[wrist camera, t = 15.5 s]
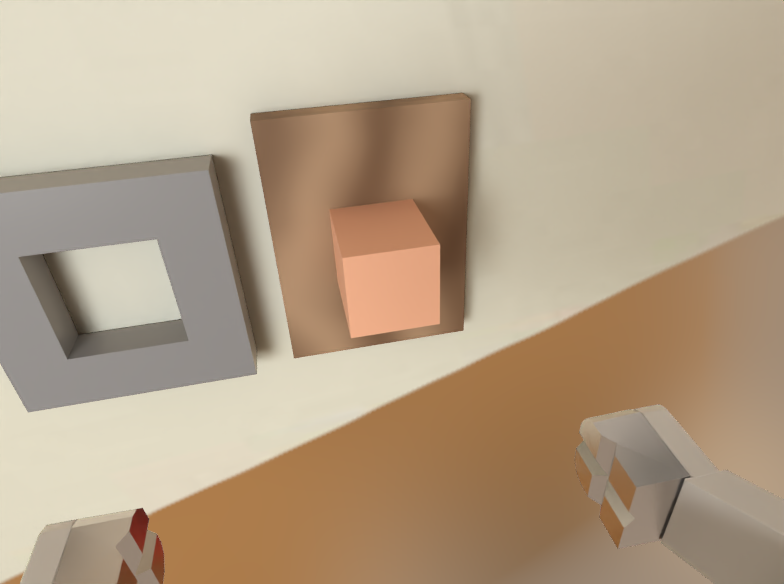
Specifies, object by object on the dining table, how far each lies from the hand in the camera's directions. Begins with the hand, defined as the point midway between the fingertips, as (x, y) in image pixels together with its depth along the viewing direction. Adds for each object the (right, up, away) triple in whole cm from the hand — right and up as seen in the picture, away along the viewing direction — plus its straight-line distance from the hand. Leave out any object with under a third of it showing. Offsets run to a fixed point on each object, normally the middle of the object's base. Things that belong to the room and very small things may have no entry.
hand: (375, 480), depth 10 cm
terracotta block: (-1, +7, +23) cm, 24 cm away
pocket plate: (-16, +4, +23) cm, 28 cm away
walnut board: (-1, +7, +25) cm, 26 cm away
